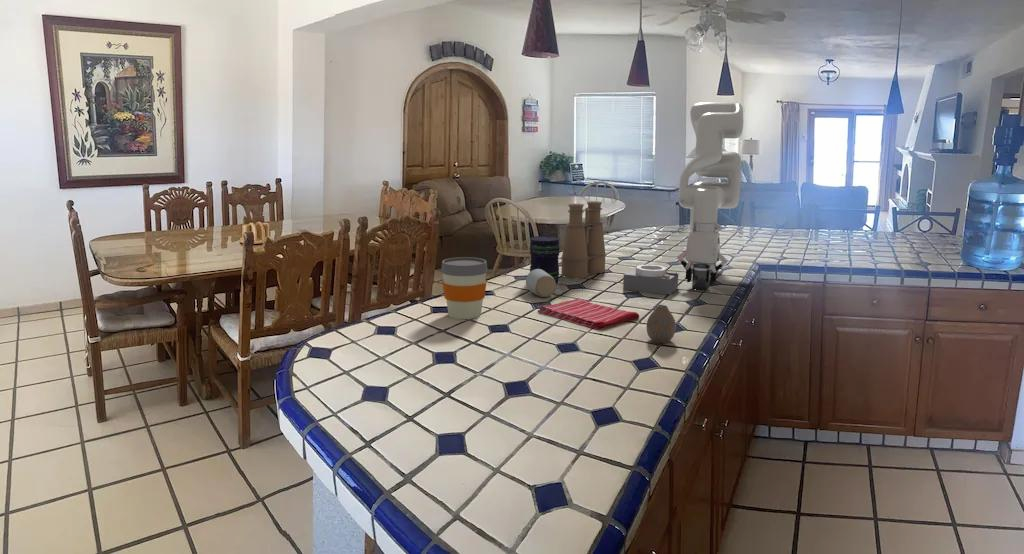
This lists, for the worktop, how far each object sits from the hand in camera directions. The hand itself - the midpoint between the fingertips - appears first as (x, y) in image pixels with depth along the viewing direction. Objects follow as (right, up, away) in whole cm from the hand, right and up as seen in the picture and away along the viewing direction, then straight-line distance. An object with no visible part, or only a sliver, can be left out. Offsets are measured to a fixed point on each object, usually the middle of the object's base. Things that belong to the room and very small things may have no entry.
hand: (700, 282), depth 218 cm
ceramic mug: (-50, -4, -8) cm, 51 cm away
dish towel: (-40, -10, -31) cm, 51 cm away
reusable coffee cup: (-74, -9, -31) cm, 80 cm away
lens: (0, -2, +1) cm, 2 cm away
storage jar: (-50, 0, +9) cm, 51 cm away
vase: (-25, -14, -53) cm, 60 cm away
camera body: (-16, -2, 0) cm, 16 cm away
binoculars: (-35, +3, +23) cm, 42 cm away
